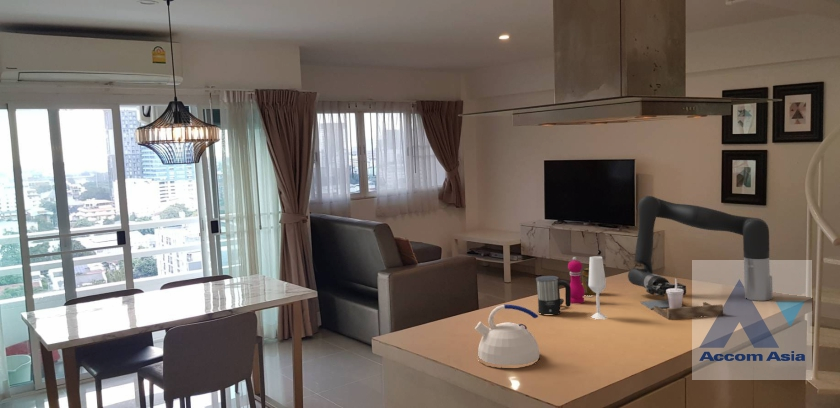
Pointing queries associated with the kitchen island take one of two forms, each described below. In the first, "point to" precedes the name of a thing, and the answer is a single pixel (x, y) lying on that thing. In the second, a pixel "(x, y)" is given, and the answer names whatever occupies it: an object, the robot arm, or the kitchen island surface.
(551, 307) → the milk frother
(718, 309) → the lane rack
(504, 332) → the kettle
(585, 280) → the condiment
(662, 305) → the slate mat
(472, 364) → the kitchen island surface
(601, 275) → the champagne flute
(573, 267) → the pepper mill
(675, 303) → the smoothie
